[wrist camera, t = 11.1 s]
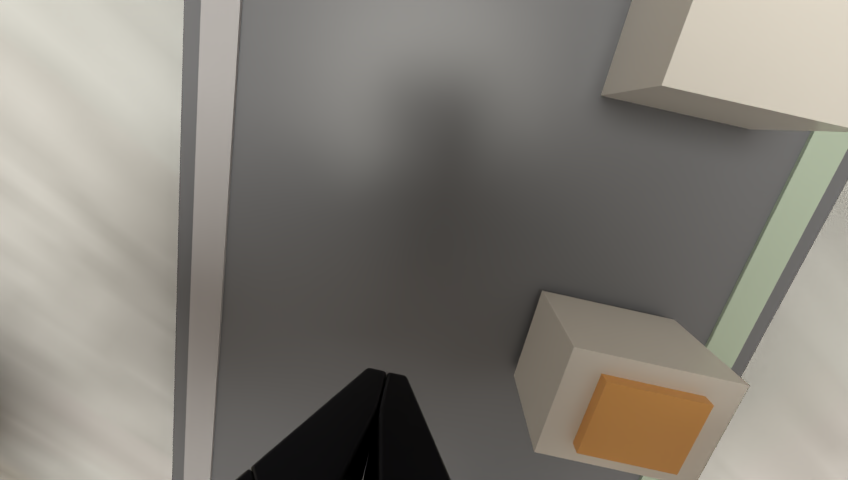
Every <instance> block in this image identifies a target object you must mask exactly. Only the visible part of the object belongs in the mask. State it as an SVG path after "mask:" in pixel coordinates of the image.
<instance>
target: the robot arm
mask: <svg viewBox="0 0 848 480" xmlns="http://www.w3.org/2000/svg"><path fill="white" fill-rule="evenodd" d="M367 458H368V459H367ZM365 467H366V468H365ZM364 471H365V473H364ZM363 476H364V477H363ZM236 480H451V479H450V476H449V474H448V472H447V469H446V467H445V465H444V462H443V460H442V458H441V455H440V453H439V451H438V448H437V446H436V444H435V441H434V439H433V437H432V434H431V432H430V430H429V427H428V425H427V423H426V420H425V418H424V416H423V413H422V411H421V409H420V406H419V404H418V402H417V399H416V397H415V395H414V392H413V390H412V388H411V385H410V383H409V381H408V378H407V377H406V376H405V375H401V374H396V373H391V372H389V373H388V374H387V375H386V372H385V371H382V370H378V369H373V368H367V369H365V370H364V371H363V372H362V373H361V374H359V375H358V376H357V377H356V378H355V379H354V380H352V381H351V382H350V383H349V384H348V385H346V386H345V387H344V388H343V389H342V390H341V391H339V392H338V393H337V394H336V395H335V396H334V397H332V398H331V399H330V400H329V401H328V402H326V403H325V404H324V405H323V406H322V407H321V408H319V409H318V410H317V411H316V412H315V413H314V414H312V415H311V416H310V417H309V418H308V419H307V420H305V421H304V422H303V423H302V424H301V425H299V426H298V427H297V428H296V429H295V430H294V431H292V432H291V433H290V434H289V435H288V436H287V437H285V438H284V439H283V440H282V441H281V442H279V443H278V444H277V445H276V446H275V447H274V448H272V449H271V450H270V451H269V452H268V453H267V454H265V455H264V456H263V457H262V458H261V459H260V460H258V461H257V462H256V463H255V464H254V465H252V467H251V470H250V469H248V470H246V471H245V472H244V473H243V474H242V475H240V476H239V477H238V478H237V479H236Z"/></svg>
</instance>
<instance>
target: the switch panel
mask: <svg viewBox="0 0 848 480" xmlns="http://www.w3.org/2000/svg"><path fill="white" fill-rule="evenodd" d="M847 180H848V0H184V28H183V68H182V108H181V148H180V188H179V228H178V268H177V309H176V349H175V389H174V429H173V469H172V480H236V479H237V478H238V477H239V476H240V475H242V474H243V473H244V472H245V471H246V470H248V469H250V470H251V467H252V465H254V464H255V463H256V462H257V461H258V460H260V459H261V458H262V457H263V456H264V455H265V454H267V453H268V452H269V451H270V450H271V449H272V448H274V447H275V446H276V445H277V444H278V443H279V442H281V441H282V440H283V439H284V438H285V437H287V436H288V435H289V434H290V433H291V432H292V431H294V430H295V429H296V428H297V427H298V426H299V425H301V424H302V423H303V422H304V421H305V420H307V419H308V418H309V417H310V416H311V415H312V414H314V413H315V412H316V411H317V410H318V409H319V408H321V407H322V406H323V405H324V404H325V403H326V402H328V401H329V400H330V399H331V398H332V397H334V396H335V395H336V394H337V393H338V392H339V391H341V390H342V389H343V388H344V387H345V386H346V385H348V384H349V383H350V382H351V381H352V380H354V379H355V378H356V377H357V376H358V375H359V374H361V373H362V372H363V371H364V370H365V369H367V368H373V369H378V370H382V371H385V372H386V375H387V374H388V373H389V372H391V373H396V374H401V375H405V376H406V377H407V378H408V381H409V383H410V385H411V388H412V390H413V392H414V395H415V397H416V399H417V402H418V404H419V406H420V409H421V411H422V413H423V416H424V418H425V420H426V423H427V425H428V427H429V430H430V432H431V434H432V437H433V439H434V441H435V444H436V446H437V448H438V451H439V453H440V455H441V458H442V460H443V462H444V465H445V467H446V469H447V472H448V474H449V476H450V479H451V480H661V479H656V478H651V477H647V476H642V475H638V474H633V473H628V472H624V471H619V470H615V469H610V468H605V467H601V466H596V465H591V464H587V463H582V462H578V461H573V460H568V459H564V458H559V457H555V456H550V455H545V454H541V453H536V452H534V450H533V446H532V442H531V438H530V435H529V431H528V427H527V423H526V419H525V416H524V412H523V408H522V404H521V401H520V397H519V393H518V389H517V385H516V382H515V378H514V373H515V370H516V367H517V364H518V361H519V358H520V355H521V352H522V349H523V346H524V343H525V340H526V337H527V334H528V331H529V328H530V325H531V322H532V319H533V316H534V313H535V310H536V307H537V304H538V301H539V298H540V295H541V292H542V291H547V292H551V293H556V294H560V295H565V296H569V297H574V298H578V299H583V300H587V301H592V302H596V303H601V304H605V305H610V306H614V307H619V308H624V309H628V310H633V311H637V312H642V313H646V314H651V315H655V316H660V317H664V318H669V319H673V320H675V321H676V322H678V323H679V324H680V325H681V326H682V327H683V328H684V329H686V330H687V331H688V332H689V333H690V334H691V335H692V336H694V337H695V338H696V339H697V340H698V341H699V342H700V343H702V344H703V345H704V346H705V347H706V348H707V349H709V350H710V351H711V352H712V353H713V354H714V355H715V356H717V357H718V358H719V359H720V360H721V361H722V362H723V363H725V364H726V365H727V366H728V367H729V368H730V369H731V370H733V371H734V372H735V373H736V374H737V375H738V376H740V377H741V376H742V374H743V372H744V370H745V368H746V367H747V365H748V363H749V361H750V359H751V357H752V355H753V354H754V352H755V350H756V348H757V346H758V344H759V343H760V341H761V339H762V337H763V335H764V333H765V332H766V330H767V328H768V326H769V324H770V322H771V320H772V319H773V317H774V315H775V313H776V311H777V309H778V308H779V306H780V304H781V302H782V300H783V298H784V296H785V295H786V293H787V291H788V289H789V287H790V285H791V284H792V282H793V280H794V278H795V276H796V274H797V273H798V271H799V269H800V267H801V265H802V263H803V261H804V260H805V258H806V256H807V254H808V252H809V250H810V249H811V247H812V245H813V243H814V241H815V239H816V237H817V236H818V234H819V232H820V230H821V228H822V226H823V225H824V223H825V221H826V219H827V217H828V215H829V213H830V212H831V210H832V208H833V206H834V204H835V202H836V201H837V199H838V197H839V195H840V193H841V191H842V190H843V188H844V186H845V184H846V182H847ZM367 459H368V458H367ZM365 468H366V467H365ZM364 473H365V471H364ZM363 477H364V476H363Z"/></svg>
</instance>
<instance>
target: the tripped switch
mask: <svg viewBox="0 0 848 480" xmlns="http://www.w3.org/2000/svg"><path fill="white" fill-rule="evenodd" d="M514 378H515V382H516V385H517V389H518V393H519V397H520V401H521V404H522V408H523V412H524V416H525V419H526V423H527V427H528V431H529V435H530V438H531V442H532V446H533V450H534V452H536V453H541V454H545V455H550V456H555V457H559V458H564V459H568V460H573V461H578V462H582V463H587V464H591V465H596V466H601V467H605V468H610V469H615V470H619V471H624V472H628V473H633V474H638V475H642V476H647V477H651V478H656V479H661V480H698V478H699V477H700V475H701V473H702V471H703V469H704V468H705V466H706V464H707V462H708V460H709V459H710V457H711V455H712V453H713V451H714V450H715V448H716V446H717V444H718V442H719V441H720V439H721V437H722V435H723V433H724V432H725V430H726V428H727V426H728V424H729V423H730V421H731V419H732V417H733V415H734V413H735V412H736V410H737V408H738V406H739V404H740V403H741V401H742V399H743V397H744V395H745V394H746V392H747V390H748V388H749V386H750V385H749V384H748V383H746V382H745V381H744V380H743V379H742V378H741V377H740V376H738V375H737V374H736V373H735V372H734V371H733V370H731V369H730V368H729V367H728V366H727V365H726V364H725V363H723V362H722V361H721V360H720V359H719V358H718V357H717V356H715V355H714V354H713V353H712V352H711V351H710V350H709V349H707V348H706V347H705V346H704V345H703V344H702V343H700V342H699V341H698V340H697V339H696V338H695V337H694V336H692V335H691V334H690V333H689V332H688V331H687V330H686V329H684V328H683V327H682V326H681V325H680V324H679V323H678V322H676V321H675V320H673V319H669V318H664V317H660V316H655V315H651V314H646V313H642V312H637V311H633V310H628V309H624V308H619V307H614V306H610V305H605V304H601V303H596V302H592V301H587V300H583V299H578V298H574V297H569V296H565V295H560V294H556V293H551V292H547V291H542V292H541V295H540V298H539V301H538V304H537V307H536V310H535V313H534V316H533V319H532V322H531V325H530V328H529V331H528V334H527V337H526V340H525V343H524V346H523V349H522V352H521V355H520V358H519V361H518V364H517V367H516V370H515V373H514Z"/></svg>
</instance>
